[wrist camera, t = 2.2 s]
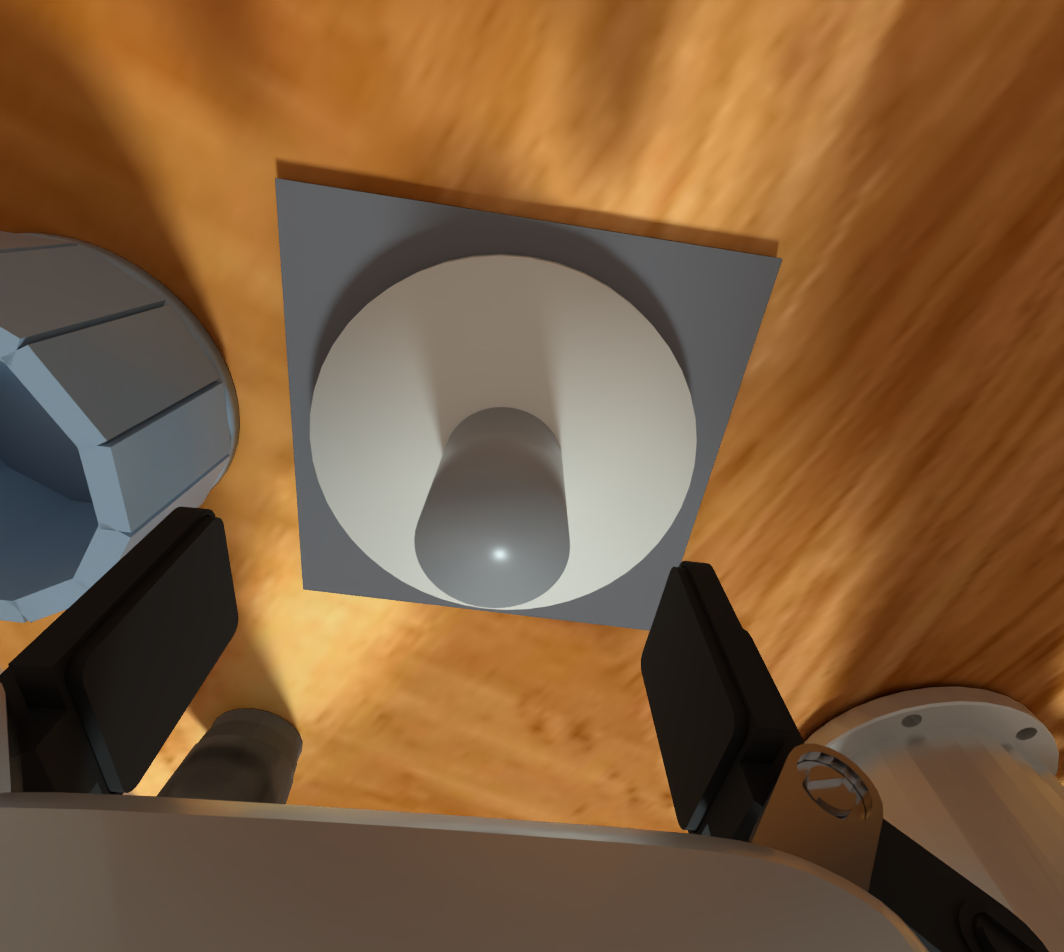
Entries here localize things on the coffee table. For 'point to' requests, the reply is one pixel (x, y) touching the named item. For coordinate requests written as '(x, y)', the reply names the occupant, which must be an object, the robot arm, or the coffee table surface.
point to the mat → (454, 232)
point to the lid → (503, 432)
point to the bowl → (96, 416)
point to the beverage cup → (240, 760)
